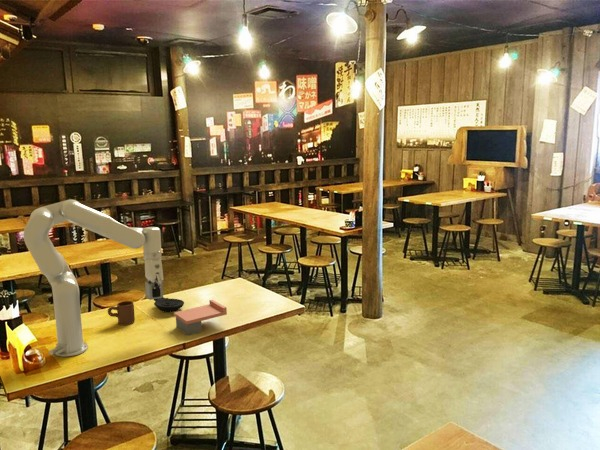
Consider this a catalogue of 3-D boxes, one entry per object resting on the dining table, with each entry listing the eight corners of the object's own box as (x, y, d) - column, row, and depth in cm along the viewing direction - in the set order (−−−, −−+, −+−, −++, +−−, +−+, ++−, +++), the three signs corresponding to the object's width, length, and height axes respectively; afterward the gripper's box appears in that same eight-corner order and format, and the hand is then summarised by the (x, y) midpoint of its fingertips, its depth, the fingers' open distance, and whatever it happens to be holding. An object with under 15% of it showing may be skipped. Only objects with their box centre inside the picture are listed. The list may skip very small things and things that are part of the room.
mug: (111, 328, 230) (109, 309, 228) (106, 323, 236) (105, 304, 234) (137, 322, 236) (135, 304, 235) (132, 318, 243) (130, 299, 241)
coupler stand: (187, 336, 220) (186, 317, 218) (174, 326, 231) (173, 308, 229) (227, 325, 232) (226, 307, 230) (213, 317, 243) (212, 299, 241)
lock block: (149, 299, 216) (149, 284, 215) (145, 297, 220) (145, 281, 219) (163, 297, 220) (163, 282, 218) (159, 294, 224) (158, 279, 222)
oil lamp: (171, 301, 266) (171, 292, 265) (190, 311, 252) (189, 301, 251) (145, 308, 257) (144, 299, 256) (163, 318, 242) (162, 308, 241)
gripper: (168, 258, 212) (170, 298, 215) (153, 250, 225) (155, 289, 228) (151, 260, 207) (153, 302, 211) (137, 252, 221) (139, 292, 224)
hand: (154, 295), depth 219 cm, fingers closed on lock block, 5 cm apart
